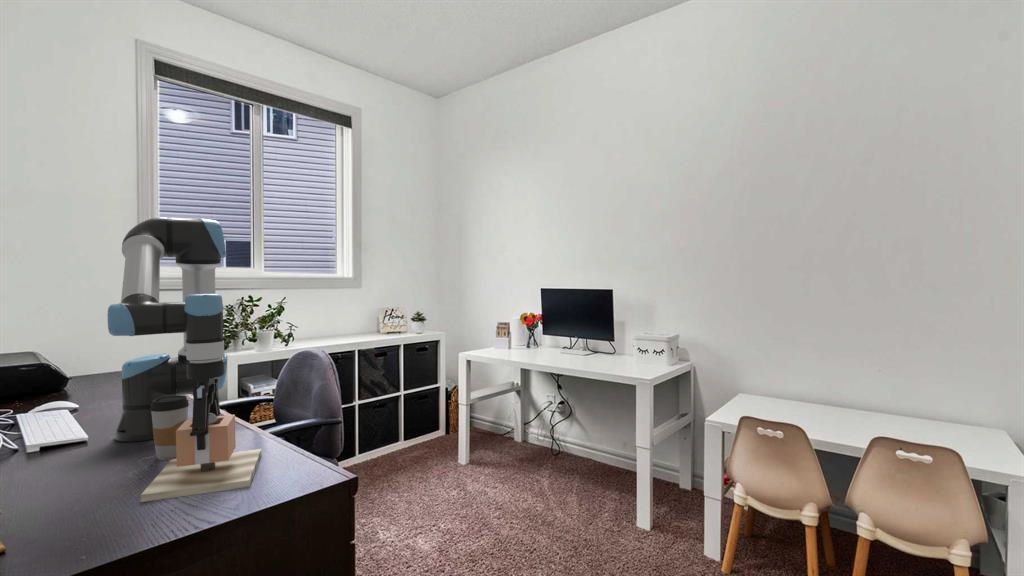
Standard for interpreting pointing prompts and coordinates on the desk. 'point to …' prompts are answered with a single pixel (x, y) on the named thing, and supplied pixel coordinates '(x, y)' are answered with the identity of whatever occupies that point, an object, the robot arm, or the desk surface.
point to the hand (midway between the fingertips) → (207, 455)
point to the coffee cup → (167, 423)
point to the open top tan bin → (218, 439)
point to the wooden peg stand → (204, 475)
